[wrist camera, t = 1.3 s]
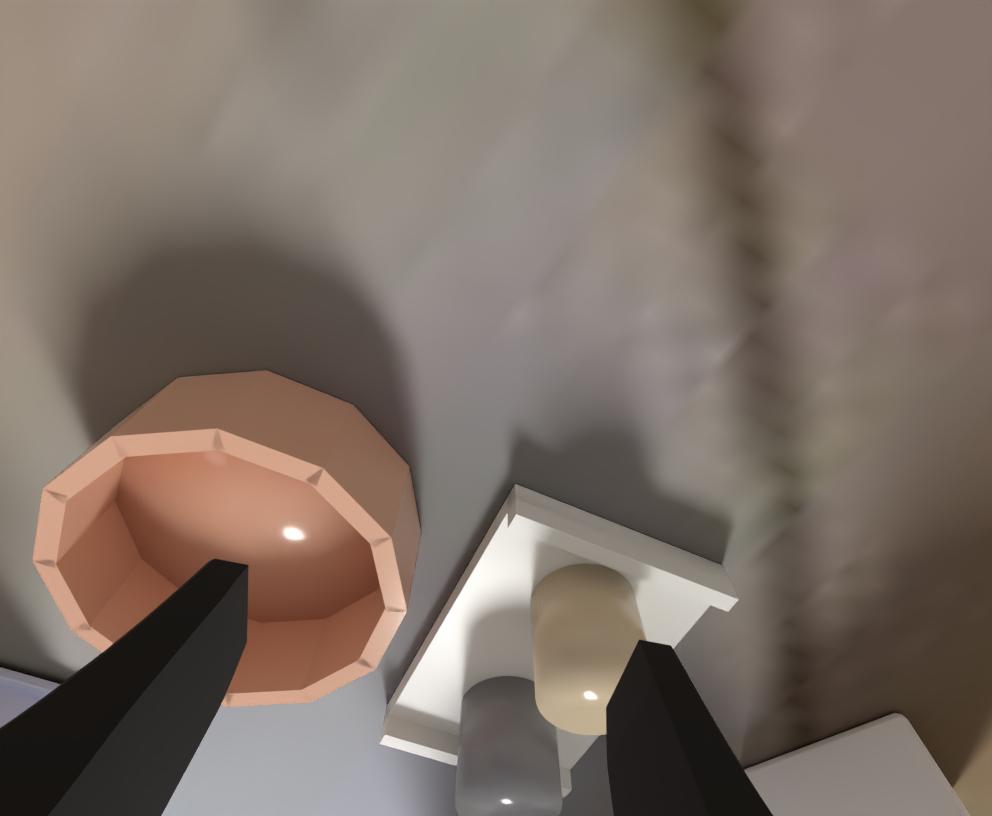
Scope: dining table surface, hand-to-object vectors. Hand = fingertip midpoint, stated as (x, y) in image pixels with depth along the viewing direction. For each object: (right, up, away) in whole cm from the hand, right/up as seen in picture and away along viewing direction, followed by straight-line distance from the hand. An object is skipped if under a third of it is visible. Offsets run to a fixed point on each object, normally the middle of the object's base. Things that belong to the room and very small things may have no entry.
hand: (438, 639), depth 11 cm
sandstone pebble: (+4, -2, +10) cm, 11 cm away
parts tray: (+3, -4, +12) cm, 13 cm away
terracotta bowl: (-7, +1, +9) cm, 11 cm away
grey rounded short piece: (+2, -7, +12) cm, 14 cm away
